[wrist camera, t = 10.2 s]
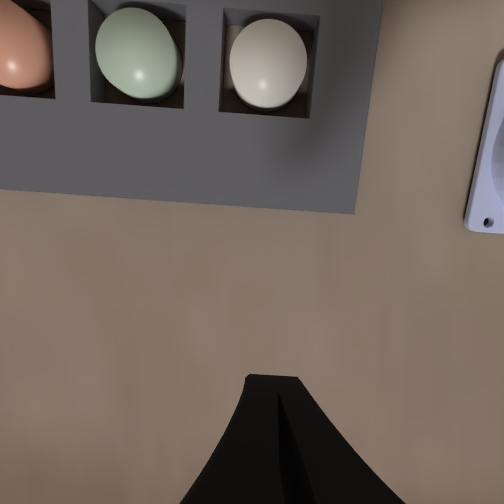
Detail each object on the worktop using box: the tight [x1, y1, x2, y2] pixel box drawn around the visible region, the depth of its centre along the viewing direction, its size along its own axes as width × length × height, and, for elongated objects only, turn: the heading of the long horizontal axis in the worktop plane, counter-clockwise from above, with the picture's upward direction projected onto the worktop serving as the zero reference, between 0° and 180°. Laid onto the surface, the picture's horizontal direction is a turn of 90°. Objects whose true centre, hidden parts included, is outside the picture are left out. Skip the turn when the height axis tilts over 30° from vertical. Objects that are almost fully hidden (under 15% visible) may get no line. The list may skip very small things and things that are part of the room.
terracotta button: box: [0, 0, 55, 94], centre depth 14 cm, size 3×3×2 cm
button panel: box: [0, 0, 383, 214], centre depth 15 cm, size 20×12×2 cm, turn 86°
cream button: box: [230, 19, 307, 112], centre depth 14 cm, size 3×3×2 cm
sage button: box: [95, 8, 182, 103], centre depth 14 cm, size 3×3×2 cm
